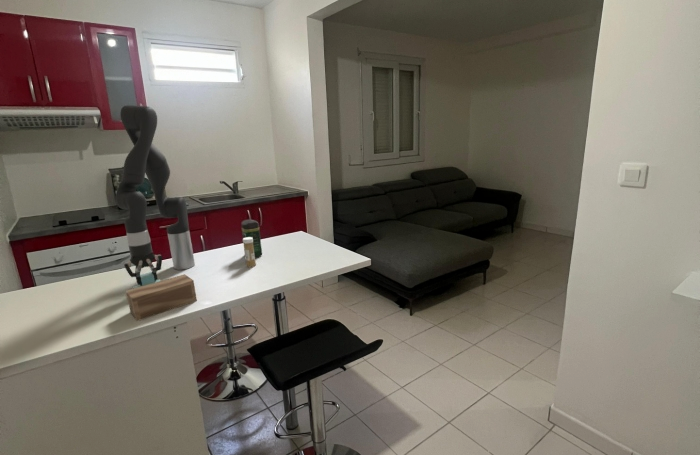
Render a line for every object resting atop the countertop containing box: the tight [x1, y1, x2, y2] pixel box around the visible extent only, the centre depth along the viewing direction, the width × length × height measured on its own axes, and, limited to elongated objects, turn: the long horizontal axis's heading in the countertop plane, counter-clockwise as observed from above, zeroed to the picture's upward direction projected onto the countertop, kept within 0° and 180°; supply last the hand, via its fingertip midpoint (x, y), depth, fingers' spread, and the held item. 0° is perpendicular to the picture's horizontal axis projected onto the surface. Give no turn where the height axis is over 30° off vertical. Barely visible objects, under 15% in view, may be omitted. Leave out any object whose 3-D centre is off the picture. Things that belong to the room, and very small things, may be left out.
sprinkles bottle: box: [242, 237, 257, 268], centre depth 165 cm, size 5×5×14 cm
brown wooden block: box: [125, 273, 198, 322], centre depth 128 cm, size 9×20×8 cm, turn 133°
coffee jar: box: [240, 218, 263, 259], centre depth 178 cm, size 10×8×19 cm
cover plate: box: [132, 271, 162, 289], centre depth 138 cm, size 16×10×5 cm, turn 43°
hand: (147, 282), depth 142 cm, fingers closed on cover plate, 4 cm apart
